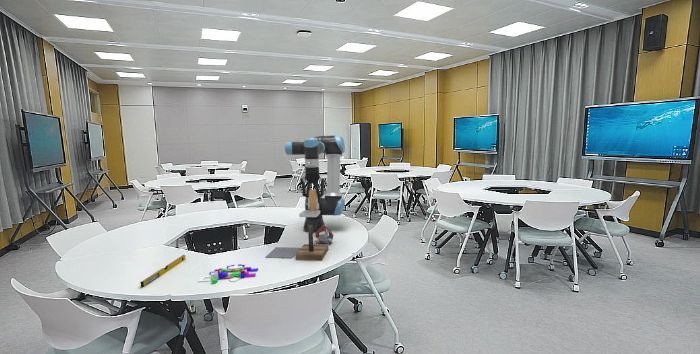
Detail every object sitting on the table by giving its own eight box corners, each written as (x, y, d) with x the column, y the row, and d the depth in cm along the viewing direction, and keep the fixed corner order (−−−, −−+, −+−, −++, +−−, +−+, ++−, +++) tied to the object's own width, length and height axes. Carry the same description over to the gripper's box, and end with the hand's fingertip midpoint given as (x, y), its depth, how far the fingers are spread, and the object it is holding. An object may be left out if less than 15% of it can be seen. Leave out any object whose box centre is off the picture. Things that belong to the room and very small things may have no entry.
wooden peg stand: (304, 249, 194) (303, 220, 192) (328, 249, 192) (327, 220, 190) (295, 260, 177) (294, 228, 175) (321, 260, 175) (320, 228, 173)
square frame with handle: (306, 210, 189) (305, 189, 188) (322, 211, 188) (321, 189, 186) (299, 217, 175) (298, 194, 174) (316, 217, 174) (315, 194, 173)
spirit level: (183, 260, 181) (182, 254, 181) (185, 260, 181) (185, 254, 181) (141, 288, 148) (140, 281, 148) (143, 288, 148) (143, 281, 148)
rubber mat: (275, 247, 197) (275, 247, 197) (300, 248, 195) (300, 247, 195) (265, 257, 182) (265, 256, 181) (292, 258, 179) (292, 257, 179)
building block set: (260, 265, 173) (259, 256, 172) (254, 282, 153) (253, 272, 152) (209, 268, 170) (208, 260, 169) (195, 286, 149) (195, 276, 149)
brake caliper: (336, 236, 209) (332, 224, 201) (333, 251, 202) (329, 239, 193) (318, 235, 211) (314, 223, 203) (314, 250, 204) (310, 238, 196)
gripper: (294, 167, 182) (296, 210, 184) (326, 167, 179) (327, 210, 182) (298, 166, 189) (300, 207, 192) (328, 165, 187) (330, 207, 189)
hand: (313, 208), depth 187 cm, fingers closed on square frame with handle, 4 cm apart
